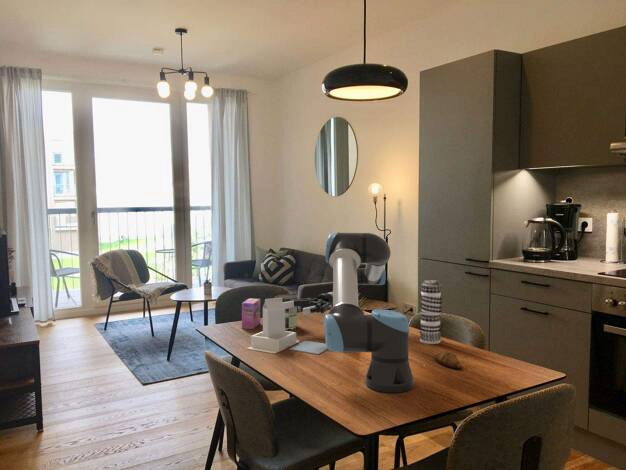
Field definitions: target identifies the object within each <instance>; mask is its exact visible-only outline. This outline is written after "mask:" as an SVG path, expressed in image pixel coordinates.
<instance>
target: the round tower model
mask: <svg viewBox="0 0 626 470" xmlns="http://www.w3.org/2000/svg"><path fill="white" fill-rule="evenodd" d="M420 285H421V291H420V293H419V299H420V300H419V308H420V310H419V312H420V314H421V315H420V324H419V326H420V327H419V330H420V331H419V342H421V343H424V344H431V345H434V344H435V345H436V344H437V345H438V344H440V343H441V339H442V336H441V335H442V333H441V331H442V324H441V314H442V310H441V309H443V307H442V306H441V304H443V301H442V300H443V298H442V296H441V295H442V294H441V293H442V292H441V286H442V284H441V283H440V282H439V281H438V280H437V279H436V280H435V279H425V280H424V281H423V282H422V283H421V284H420Z"/></svg>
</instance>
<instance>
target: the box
mask: <svg viewBox="0 0 626 470" xmlns="http://www.w3.org/2000/svg"><path fill="white" fill-rule="evenodd" d="M260 324H261V298H249V297H248V298H247V299H245V301H244V300H243V302H242V303H241V329H244V330H254V329H255V328H257V327H258V325H259V326H260Z"/></svg>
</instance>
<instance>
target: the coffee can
mask: <svg viewBox="0 0 626 470" xmlns="http://www.w3.org/2000/svg"><path fill="white" fill-rule="evenodd" d="M274 298H282V301H283V303H284V302H289V301H290V300H291V299H298V296H297V295H296V294H295V295H294V294H287V293H286V294H284V293H283V294H278V295H275V296H274ZM296 327H297V328H298V306H294V307H293V308H288V309H285V331H289V330H288V329H291V330H295V329H296ZM294 328H295V329H294Z"/></svg>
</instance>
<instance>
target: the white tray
mask: <svg viewBox="0 0 626 470" xmlns="http://www.w3.org/2000/svg"><path fill="white" fill-rule="evenodd" d="M250 342H251V343H250V346H249V347H247V348H246V350H251V351H257V352H261V353H262V352H263V353H267V354H274V355H275V354H278V353H279V352H281V351H284V350H285V349H289V347H290V348H291V347H293V346H295V345H297V343H298V344H299V343H301V341H300V340H298V339H297V332H294V331H291V330H290V331H289V330H285V336H284V337H282V338H280V339H273V338H267V337H263V330H262V331H260V332H258V333H255V334H253V335H251V336H250Z"/></svg>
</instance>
